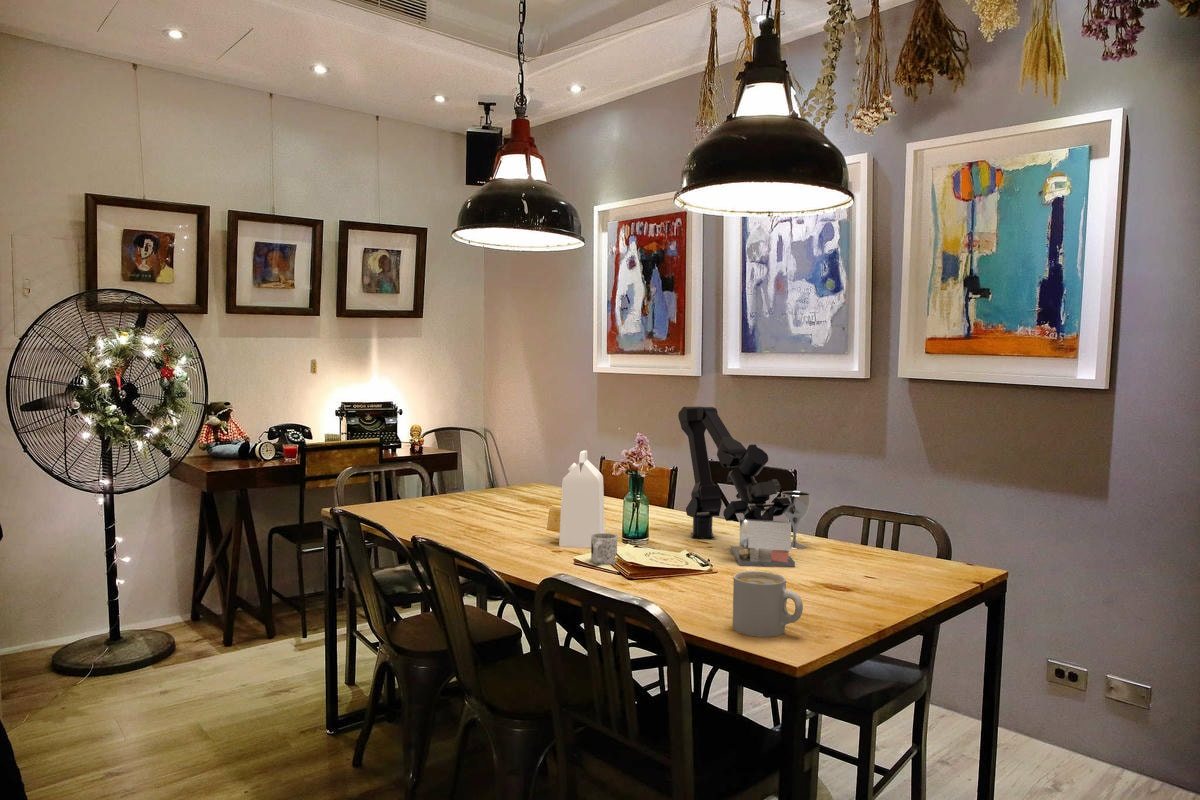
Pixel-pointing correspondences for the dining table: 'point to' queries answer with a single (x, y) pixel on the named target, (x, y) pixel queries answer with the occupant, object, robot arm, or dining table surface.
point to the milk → (581, 504)
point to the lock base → (762, 557)
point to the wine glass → (796, 512)
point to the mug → (603, 548)
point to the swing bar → (765, 534)
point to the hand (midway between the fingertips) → (770, 536)
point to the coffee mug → (762, 604)
